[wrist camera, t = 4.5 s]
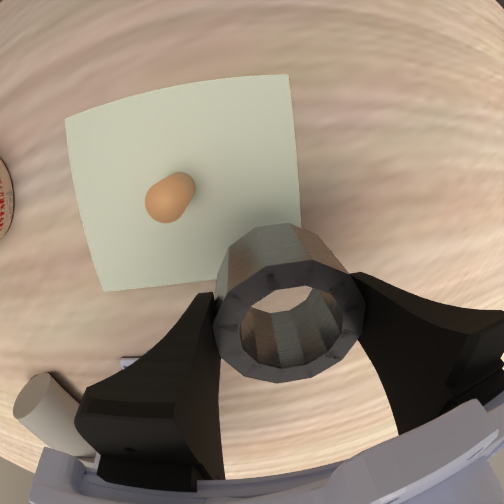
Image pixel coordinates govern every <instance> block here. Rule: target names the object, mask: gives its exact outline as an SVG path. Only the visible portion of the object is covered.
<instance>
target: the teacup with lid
mask: <svg viewBox="0 0 504 504" xmlns="http://www.w3.org/2000/svg"><path fill="white" fill-rule="evenodd" d="M12 214H13V190H12V184H11V180H10V176H9V173H8V171H7V169H6V167H5V165H4V164H3V162H2V161H1V160H0V238H2V237H3V236H4V235H5V233H6V232H7V230H8V228H9V226H10V223H11V219H12Z"/></svg>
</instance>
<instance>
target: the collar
mask: <svg viewBox="0 0 504 504" xmlns="http://www.w3.org/2000/svg"><path fill="white" fill-rule="evenodd" d="M299 286H309V287H312V288H313V289H312V291H311V292H310V294H309V296H308V297H307V299H306V300H305V301H304V302H302V303H300V304H299V305H297V306H296V307H294V308H293V309H291V310H290V311H283V312H276V313H267V312H264V311H261V310H258V309H255V308H252V307H251V306H252V305H253V304H255V303H256V302H258V301H259V300H261V299H263V298H264V297H266V296H267V295H269V294H270V293H272V292H273V291H275V290H279V289H286V288H293V287H299ZM365 308H366V301H365V300H364V298H363V296H362V294H361V293H360V291H359V289H358V288H357V286H356V284H355V282H354V281H353V279H352V277H351V276H350V274H349V273H348V272H347V270H346V269H345V268H344V267H343V265H342V264H341V263H340V262H339V260H338V259H337V258H336V257H335V256H334V254H333V253H332V252H331V251H330V249H329V248H328V247H327V246H326V245H325V243H324V242H323V241H322V240H321V239H320V237H319V236H318V235H316V234H314V233H312V232H309V231H307V230H305V229H302V228H300V227H298V226H295V225H293V224H291V223H284V224H275V225H267V226H259V227H255V228H254V229H252V230H251V231H249V232H248V233H247V234H245V235H244V236H243V237H241V238H240V239H238V240H237V241H236V242H234V243H233V244H232V245H230V246H229V248H228V250H227V252H226V255H225V257H224V259H223V262H222V264H221V266H220V269H219V271H218V274H217V281H216V291H215V301H214V313H213V321H212V328H213V332H214V336H215V340H216V344H217V347H218V351H219V355H220V357H221V358H222V359H224V360H225V361H226V362H227V363H228V364H230V365H231V366H232V367H233V368H234V369H236V370H237V371H238V372H239V373H241V374H242V375H243V376H245V377H249V378H254V379H258V380H263V381H268V382H273V383H283V382H289V381H295V380H301V379H306V378H312V377H313V376H315V375H317V374H319V373H321V372H322V371H324V370H326V369H328V368H329V367H331V366H333V365H334V364H336V363H338V362H339V361H341V360H342V359H343V358H344V357H345V355H346V354H347V353H348V351H349V350H350V349H351V348H352V346H353V345H354V344H355V342H356V341H357V340H358V338H359V337H360V335H361V334H362V330H363V323H364V316H365Z"/></svg>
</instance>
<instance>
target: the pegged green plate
mask: <svg viewBox="0 0 504 504" xmlns="http://www.w3.org/2000/svg"><path fill="white" fill-rule="evenodd" d="M65 127H66V137H67V145H68V153H69V160H70V166H71V172H72V178H73V183H74V189H75V194H76V198H77V203H78V207H79V212H80V216H81V220H82V224H83V228H84V232H85V235H86V239H87V243H88V246H89V249H90V253H91V256H92V259H93V263H94V266H95V269H96V272H97V275H98V278H99V281H100V283H101V286H102V289H103V292H109V291H119V290H128V289H137V288H147V287H156V286H164V285H173V284H181V283H190V282H198V281H206V280H214V279H217V274H218V271H219V269H220V266H221V264H222V262H223V259H224V257H225V255H226V252H227V250H228V248H229V246H230V245H232V244H233V243H234V242H236V241H237V240H238V239H240V238H241V237H243V236H244V235H245V234H247V233H248V232H249V231H251V230H252V229H254V228H255V227H259V226H267V225H275V224H284V223H291V224H293V225H295V226H298V227H300V228H301V214H300V196H299V181H298V167H297V154H296V142H295V131H294V121H293V111H292V102H291V93H290V85H289V77H288V74H284V75H258V76H244V77H233V78H223V79H215V80H208V81H201V82H194V83H188V84H183V85H177V86H172V87H167V88H163V89H158V90H154V91H150V92H145V93H141V94H138V95H134V96H130V97H127V98H123V99H120V100H116V101H113V102H110V103H107V104H104V105H101V106H98V107H95V108H92V109H89V110H86V111H83V112H81V113H78V114H76V115H73V116H70V117H68V118H65Z"/></svg>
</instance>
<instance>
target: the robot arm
mask: <svg viewBox="0 0 504 504" xmlns="http://www.w3.org/2000/svg"><path fill="white" fill-rule="evenodd" d="M350 276H351V277H352V279H353V281H354V282H355V284H356V286H357V288H358V289H359V291H360V293H361V294H362V296H363V298H364V300H365V301H366V308H365V316H364V323H363V330H362V334H361V335H360V337H359V338H358V341H359V342H360V344H361V346H362V347H363V349H364V351H365V352H366V354H367V356H368V357H369V359H370V360H371V362H372V364H373V365H374V367H375V369H376V371H377V373H378V375H379V378H380V380H381V382H382V385H383V387H384V390H385V392H386V395H387V398H388V400H389V403H390V406H391V409H392V412H393V416H394V419H395V422H396V426H397V430H398V434H399V436H397V437H394V438H392V439H389V440H387V441H384V442H382V443H380V444H378V445H376V446H373V447H371V448H369V449H366V450H364V451H362V452H360V453H358V454H357V455H355V456H353V457H352V458H350V459H346V460H343V461H339V462H336V463H332V464H328V465H324V466H320V467H316V468H311V469H307V470H302V471H296V472H291V473H285V474H279V475H272V476H264V477H256V478H245V479H232V480H226V479H225V472H224V464H223V455H222V445H221V434H220V421H219V405H218V393H219V378H220V363H221V357H220V355H219V351H218V347H217V344H216V340H215V336H214V332H213V328H212V321H213V313H214V295H213V292H207V293H198V294H197V296H196V297H195V298H194V300H193V301H192V303H191V304H190V306H189V307H188V308H187V310H186V311H185V313H184V314H183V315H182V316H181V318H180V319H179V320H178V322H177V323H176V324H175V325H174V326H173V328H172V329H171V330H170V331H169V332H168V333H167V335H166V336H165V337H164V338H163V339H162V340H161V341H160V342H158V343H157V344H156V345H155V346H154V347H153V348H152V349H151V350H149V351H148V352H147V353H146V354H144V355H143V356H142V357H140V358H121V359H120V361H119V363H120V365H121V367H122V369H123V370H121V371H119V372H118V373H116V374H114V375H112V376H110V377H109V378H106V379H104V380H102V381H100V382H98V383H96V384H94V385H92V386H89V387H87V388H86V390H85V393H84V395H83V397H82V400H81V402H80V405H79V407H78V410H77V413H76V415H75V418H74V425H75V428H76V430H77V431H78V433H79V434H80V435H81V436H82V438H83V439H84V440H85V441H86V442H87V443H88V444H89V445H90V446H91V447H92V448H93V449H94V450H95V451H97V454H96V457H95V461H94V465H93V468H90V467H86V466H85V465H84V464H83V463H82V462H81V461H80V460H79V459H77V458H76V457H74V456H72V455H70V454H67V453H65V452H61V451H58V450H55V449H51V448H48V447H44V449H43V451H42V454H41V457H40V460H39V463H38V466H37V470H36V473H35V476H34V480H33V483H32V487H31V491H30V494H29V498H28V501H29V502H30V503H31V504H504V490H503V488H502V486H501V484H500V482H499V480H498V478H497V477H496V475H495V473H494V471H493V469H492V468H491V466H490V464H489V462H488V461H487V460H488V459H490V458H491V457H492V456H493V455H494V454H496V453H497V452H498V451H499V450H500V449H501V448H502V447H504V370H503V369H502V368H503V366H504V362H503V361H502V360H501V359H500V358H501V356H502V355H503V353H504V311H502V310H478V309H468V308H461V307H456V306H451V305H446V304H442V303H438V302H435V301H431V300H428V299H425V298H422V297H419V296H417V295H414V294H412V293H409V292H406V291H404V290H402V289H399V288H397V287H395V286H393V285H391V284H388V283H386V282H384V281H382V280H380V279H377V278H375V277H373V276H371V275H368V274H366V273H363V272H357V273H351V274H350Z"/></svg>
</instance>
